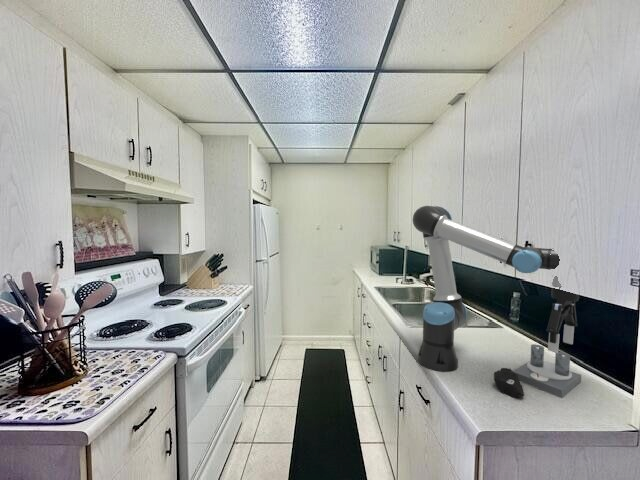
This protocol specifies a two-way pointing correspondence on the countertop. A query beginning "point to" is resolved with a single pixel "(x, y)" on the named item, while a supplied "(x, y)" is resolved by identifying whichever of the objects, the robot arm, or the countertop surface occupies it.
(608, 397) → the countertop surface
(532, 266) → the robot arm
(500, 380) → the rock
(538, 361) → the cylinder
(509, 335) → the countertop surface
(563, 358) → the cylinder
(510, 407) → the countertop surface
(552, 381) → the scale
